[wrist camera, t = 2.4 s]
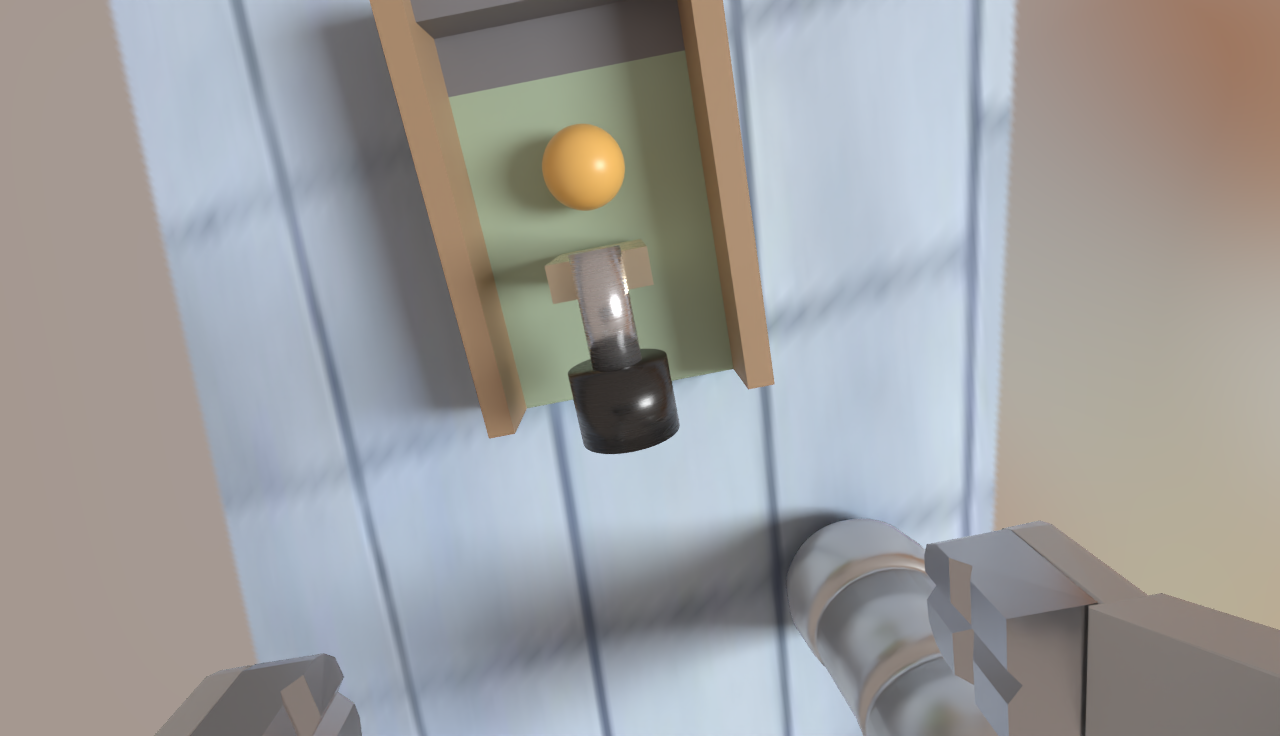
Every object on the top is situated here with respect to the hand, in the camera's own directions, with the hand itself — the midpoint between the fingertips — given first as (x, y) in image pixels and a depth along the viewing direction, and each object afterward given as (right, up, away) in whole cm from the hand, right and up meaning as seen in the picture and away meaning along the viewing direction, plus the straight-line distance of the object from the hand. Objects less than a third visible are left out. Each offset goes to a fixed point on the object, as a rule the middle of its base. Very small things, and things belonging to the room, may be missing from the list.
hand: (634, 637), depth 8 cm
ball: (-2, +11, +14) cm, 18 cm away
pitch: (-2, +11, +16) cm, 19 cm away
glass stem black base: (-1, +6, +16) cm, 17 cm away
